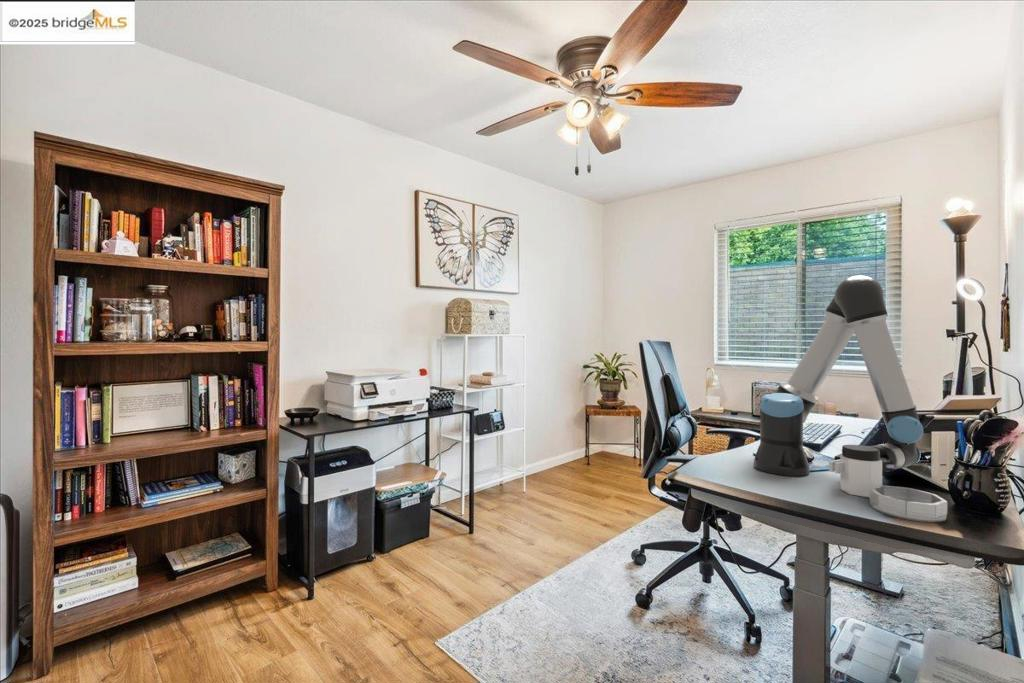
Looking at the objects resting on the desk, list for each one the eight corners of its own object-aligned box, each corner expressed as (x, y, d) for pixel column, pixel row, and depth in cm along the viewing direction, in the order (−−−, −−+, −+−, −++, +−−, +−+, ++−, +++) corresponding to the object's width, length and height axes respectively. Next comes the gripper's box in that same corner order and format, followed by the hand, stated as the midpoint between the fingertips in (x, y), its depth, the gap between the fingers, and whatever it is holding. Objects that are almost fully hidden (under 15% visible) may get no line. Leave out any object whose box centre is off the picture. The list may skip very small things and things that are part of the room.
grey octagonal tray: (858, 506, 114) (858, 490, 114) (888, 498, 120) (888, 482, 120) (928, 526, 102) (928, 508, 102) (958, 516, 108) (958, 499, 108)
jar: (856, 486, 129) (856, 443, 129) (888, 495, 122) (888, 449, 122) (833, 489, 126) (833, 445, 127) (865, 499, 119) (864, 452, 119)
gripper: (910, 477, 129) (862, 488, 119) (855, 465, 142) (807, 474, 131) (910, 450, 129) (862, 459, 119) (855, 440, 142) (807, 447, 131)
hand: (833, 467), depth 125 cm, fingers closed
